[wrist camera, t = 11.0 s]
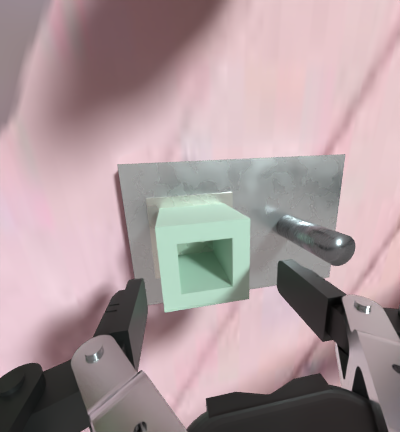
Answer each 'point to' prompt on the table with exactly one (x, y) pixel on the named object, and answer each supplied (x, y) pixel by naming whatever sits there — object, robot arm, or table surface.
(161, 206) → the stand
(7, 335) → the table surface
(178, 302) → the mint square sleeve
